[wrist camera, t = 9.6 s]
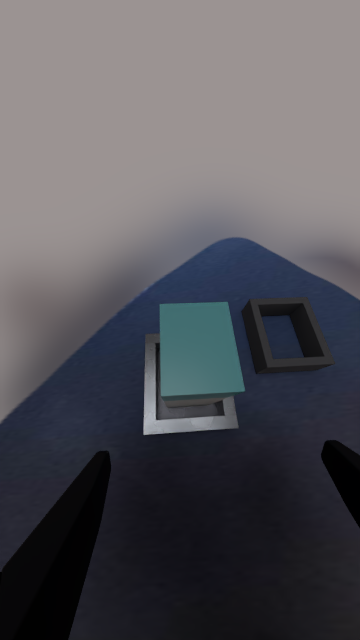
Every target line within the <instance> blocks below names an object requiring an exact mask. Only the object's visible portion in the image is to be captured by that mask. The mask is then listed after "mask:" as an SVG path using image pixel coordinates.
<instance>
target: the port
mask: <svg viewBox="0 0 360 640" xmlns="http://www.w3.org/2000/svg"><path fill="white" fill-rule="evenodd" d="M231 428H238V422H237V416H236V410H235V404H234V398H233V396H231V397H229V398H226V399H223V400H220V401H218V402H215V403H212V404H209V405H207V406H191V407H175V408H167V406H166V405H165V403H164V401H163V399H162V397H161V369H160V333H159V334H146V342H145V392H144V435H148V434H161V433H175V432H189V431H203V430H217V429H231Z"/></svg>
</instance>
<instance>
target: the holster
mask: <svg viewBox="0 0 360 640" xmlns="http://www.w3.org/2000/svg"><path fill="white" fill-rule="evenodd" d="M242 315H243V319H244V323H245V328H246V332H247V336H248V341H249V345H250V349H251V354H252V358H253V362H254V366H255V371H256V374H258V373H276V372H294V371H311V370H318V369H321V368H324V367H327V366H330V365H333V364H335V362H334V360H333V357H332V355H331V352H330V350H329V348H328V345H327V343H326V341H325V338H324V336H323V333H322V331H321V329H320V326H319V324H318V322H317V319H316V317H315V314H314V312H313V310H312V307H311V305H310V303H309V300H308V298H307V297H298V298H268V299H249V301H248V303H247V304H246V306H245V307H244V309H243V310H242ZM277 315H290V318H291V320H292V323H293V326H294V329H295V332H296V335H297V337H298V340H299V343H300V346H301V349H302V351H303V354H304V357H305V358H287V359H273V357H272V353H271V350H270V346H269V343H268V339H267V335H266V332H265V328H264V325H263V321H262V318H261V316H277Z"/></svg>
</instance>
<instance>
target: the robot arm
mask: <svg viewBox="0 0 360 640" xmlns="http://www.w3.org/2000/svg"><path fill="white" fill-rule="evenodd" d="M321 458H322V461H323V463H324V465H325V467H326V469H327V470H328V472H329V474H330V476H331V478H332V480H333V482H334V484H335V486H336V488H337V490H338V491H339V493H340V495H341V497H342V499H343V501H344V503H345V504H346V506H347V508H348V510H349V511H350V513H351V515H352V516H353V518H354V520H355V521H356V523H357V524H358V526H359V528H360V455H359V454H357V453H355V452H354V451H352V450H351V449H349V448H348V447H346V446H345V445H343V444H342V443H340V442H338V441H336V440H327V441H325V443H324V446H323V450H322V453H321ZM110 472H111V462H110V456H109V452H108V451H99V452H97V453H96V454H95V455H94V457H93V458H92V459H91V460H90V461H89V463H88V464H87V465H86V466H85V468H84V469H83V470H82V471H81V473H80V474H79V475H78V476H77V477H76V479H75V480H74V481H73V482H72V484H71V485H70V486H69V487H68V488H67V490H66V491H65V492H64V493H63V495H62V496H61V497H60V498H59V500H58V501H57V502H56V503H55V504H54V506H53V507H52V508H51V509H50V511H49V512H48V513H47V514H46V516H45V517H44V518H43V519H42V520H41V522H40V523H39V524H38V525H37V527H36V528H35V529H34V530H33V531H32V533H31V534H30V535H29V536H28V538H27V539H26V540H25V541H24V543H23V544H22V545H21V546H20V547H19V549H18V550H17V551H16V552H15V554H14V555H13V556H12V557H11V559H10V560H9V561H8V562H7V563H6V565H5V566H4V567H3V569H2V572H0V640H68V638H69V635H70V631H71V628H72V624H73V621H74V617H75V613H76V610H77V606H78V603H79V599H80V595H81V592H82V588H83V585H84V581H85V578H86V574H87V570H88V567H89V563H90V560H91V556H92V553H93V549H94V545H95V542H96V538H97V535H98V531H99V527H100V523H101V519H102V514H103V509H104V504H105V498H106V493H107V488H108V483H109V477H110Z"/></svg>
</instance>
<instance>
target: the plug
mask: <svg viewBox="0 0 360 640" xmlns="http://www.w3.org/2000/svg"><path fill="white" fill-rule="evenodd" d="M160 369H161V397H162V399H163V401H164V403H165V405H166V406H167V408H175V407H191V406H207V405H209V404H212V403H215V402H218V401H220V400H223V399H226V398H229V397H231V396H234V395H237V394H239V393H242V392H245V388H244V383H243V378H242V373H241V368H240V363H239V358H238V353H237V347H236V342H235V337H234V332H233V327H232V322H231V317H230V312H229V307H228V302H214V303H182V304H160Z"/></svg>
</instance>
